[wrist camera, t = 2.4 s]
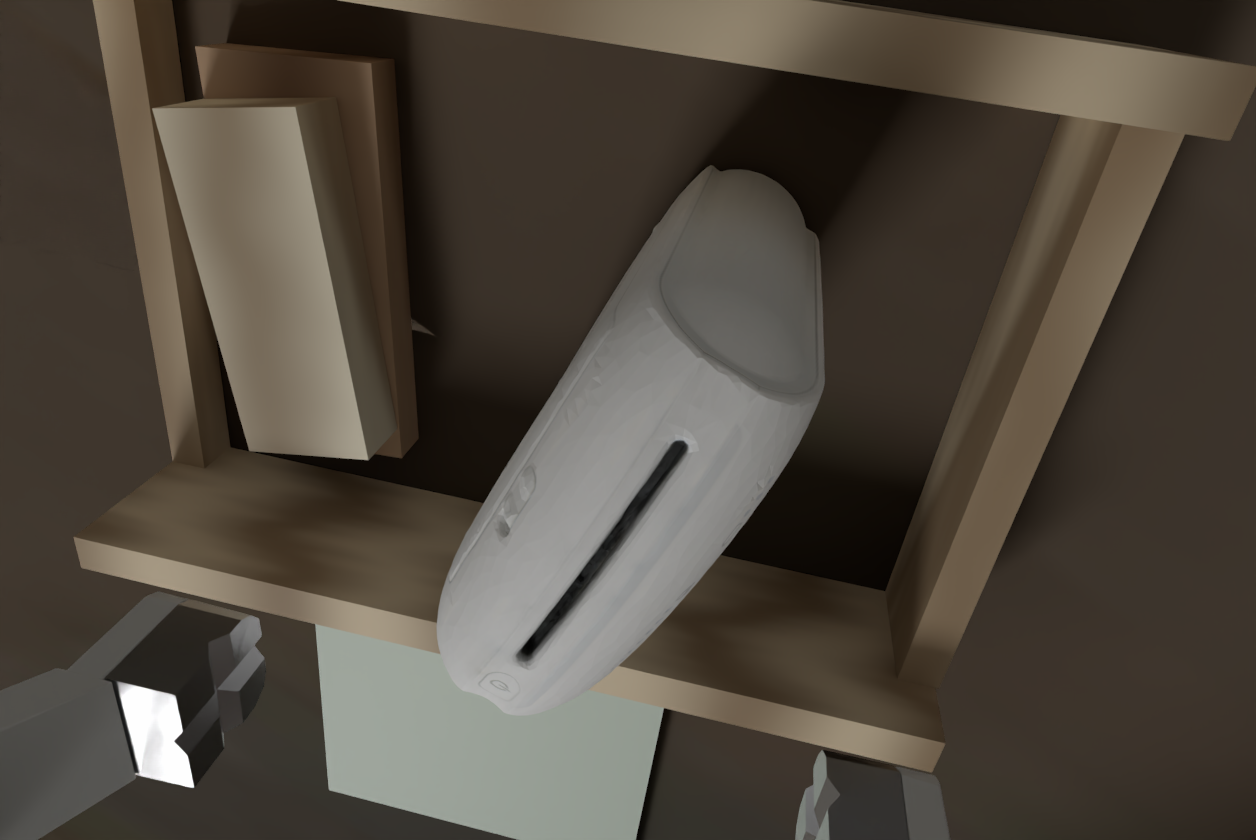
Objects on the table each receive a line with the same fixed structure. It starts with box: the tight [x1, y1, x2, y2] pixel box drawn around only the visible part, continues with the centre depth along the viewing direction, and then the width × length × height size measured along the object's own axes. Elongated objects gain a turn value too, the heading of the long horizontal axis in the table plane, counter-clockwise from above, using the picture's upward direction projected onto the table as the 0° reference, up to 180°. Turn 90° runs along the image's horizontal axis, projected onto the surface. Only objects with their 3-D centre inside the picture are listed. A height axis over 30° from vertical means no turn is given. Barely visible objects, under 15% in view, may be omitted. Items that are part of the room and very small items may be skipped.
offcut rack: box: [74, 0, 1256, 772], centre depth 22 cm, size 26×18×6 cm
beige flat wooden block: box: [195, 43, 419, 458], centre depth 25 cm, size 5×12×2 cm, turn 176°
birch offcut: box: [152, 97, 397, 460], centre depth 24 cm, size 4×10×2 cm, turn 2°
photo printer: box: [436, 165, 825, 716], centre depth 19 cm, size 10×4×12 cm, turn 150°
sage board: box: [315, 624, 664, 840], centre depth 33 cm, size 14×14×1 cm
